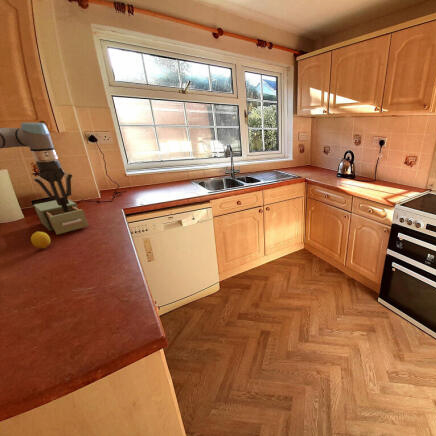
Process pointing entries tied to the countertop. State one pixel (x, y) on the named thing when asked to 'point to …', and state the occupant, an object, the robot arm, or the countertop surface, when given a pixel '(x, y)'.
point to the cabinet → (49, 206)
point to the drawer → (66, 219)
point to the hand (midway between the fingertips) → (66, 211)
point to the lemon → (40, 240)
